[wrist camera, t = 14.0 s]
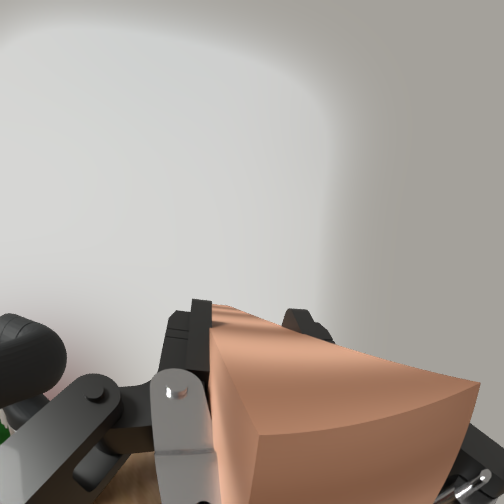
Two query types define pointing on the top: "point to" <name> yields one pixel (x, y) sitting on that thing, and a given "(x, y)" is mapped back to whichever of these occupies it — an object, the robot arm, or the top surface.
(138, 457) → the top surface
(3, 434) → the milk carton
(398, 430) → the batten
